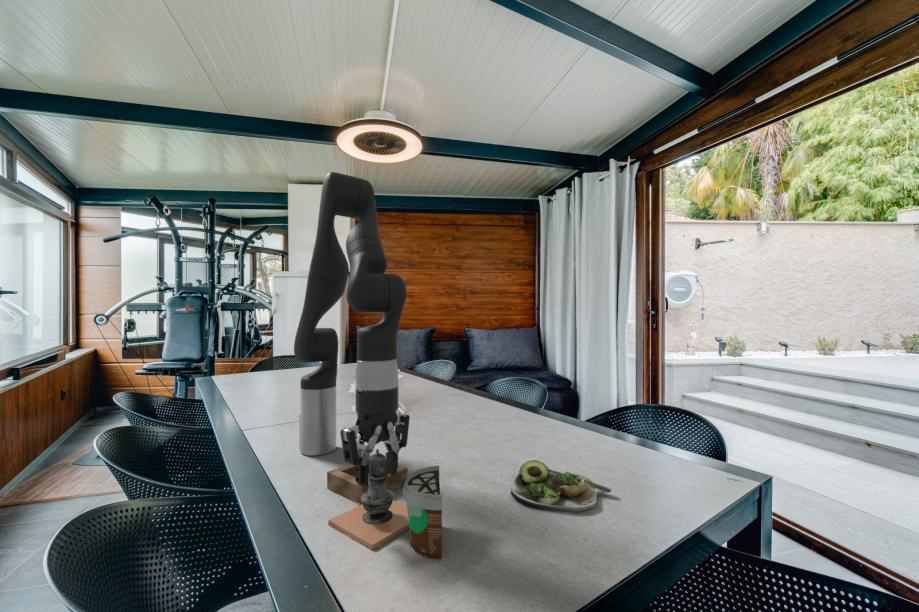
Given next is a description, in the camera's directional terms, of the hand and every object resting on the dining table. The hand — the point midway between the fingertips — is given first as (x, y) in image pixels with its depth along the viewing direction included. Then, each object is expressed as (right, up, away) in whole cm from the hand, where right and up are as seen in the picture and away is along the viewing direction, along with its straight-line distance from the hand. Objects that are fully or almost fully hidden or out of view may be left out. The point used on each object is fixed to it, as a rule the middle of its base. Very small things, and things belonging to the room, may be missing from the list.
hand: (377, 478), depth 70 cm
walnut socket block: (-5, -8, +14) cm, 17 cm away
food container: (+9, -8, -6) cm, 13 cm away
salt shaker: (0, -7, 0) cm, 7 cm away
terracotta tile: (0, -8, 0) cm, 8 cm away
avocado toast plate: (+34, -8, +11) cm, 36 cm away
